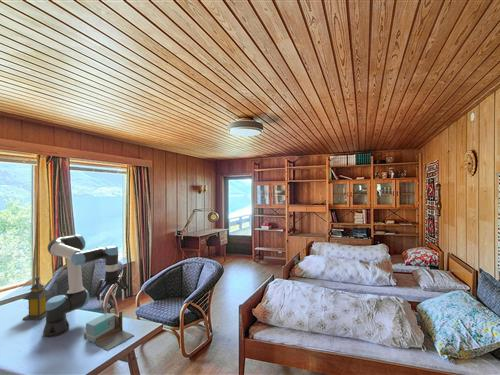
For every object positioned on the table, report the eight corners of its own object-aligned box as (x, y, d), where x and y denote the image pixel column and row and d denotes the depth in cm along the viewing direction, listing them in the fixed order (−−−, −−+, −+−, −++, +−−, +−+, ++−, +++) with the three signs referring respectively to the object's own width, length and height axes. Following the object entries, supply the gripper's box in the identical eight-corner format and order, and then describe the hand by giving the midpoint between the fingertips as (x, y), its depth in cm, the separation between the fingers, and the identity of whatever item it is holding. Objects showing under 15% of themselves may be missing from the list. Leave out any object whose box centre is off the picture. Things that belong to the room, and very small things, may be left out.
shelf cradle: (84, 337, 187) (83, 316, 186) (109, 325, 202) (108, 306, 202) (97, 343, 179) (97, 322, 179) (122, 330, 195) (122, 311, 195)
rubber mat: (96, 345, 178) (96, 344, 178) (122, 331, 194) (122, 330, 194) (107, 351, 172) (107, 350, 172) (133, 335, 189) (133, 335, 189)
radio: (95, 344, 179) (94, 313, 178) (85, 341, 183) (85, 311, 182) (116, 332, 194) (115, 303, 193) (107, 329, 197) (106, 301, 197)
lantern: (40, 320, 209) (39, 280, 208) (21, 320, 210) (20, 280, 209) (53, 311, 223) (52, 274, 223) (36, 311, 224) (35, 274, 223)
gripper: (90, 275, 171) (90, 309, 172) (133, 268, 186) (133, 299, 186) (89, 272, 177) (89, 304, 178) (130, 265, 192) (130, 295, 192)
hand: (111, 302), depth 182 cm, fingers open, 13 cm apart
